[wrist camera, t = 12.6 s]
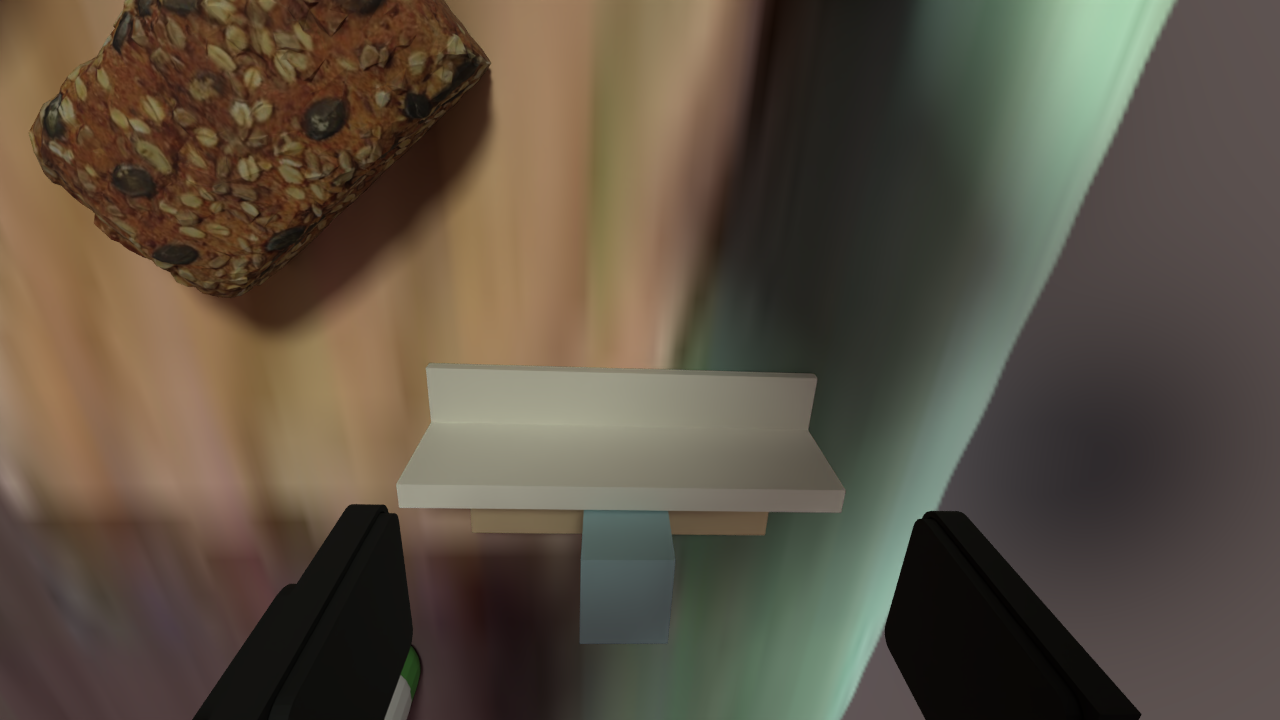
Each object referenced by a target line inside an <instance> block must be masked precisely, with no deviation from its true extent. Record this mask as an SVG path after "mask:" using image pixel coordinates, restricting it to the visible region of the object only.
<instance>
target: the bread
mask: <svg viewBox="0 0 1280 720" xmlns="http://www.w3.org/2000/svg"><path fill="white" fill-rule="evenodd" d="M114 28H115V29H114V30H113V32H112V33H111V34H110V35H109V36H108V38H107V40H106V41H105V43H104V45H103V47H102V48H101V50H100V52H99V54H98V55H97V57H95V58H93V59H92V60H90V61H87V62H85V63H83V64H81V65H79V66H78V67H77V68H76V69H75V70H74V71H73V72H72V73H71V74H70V75H69V76H68V77H67V78H66V80H65V81H64V83H63V84H62V86H61V88H60V92H59V94H58V95H56V96H55V97H54V98H53V99H51V100H49V101H48V102H46V103H44V104H43V106H42V108H41V110H40V112H39V114H38V116H37V118H36V120H35V122H34V124H33V125H32V127H31V129H30V131H29V136H30V140H31V143H32V147H33V150H34V153H35V155H36V157H37V159H38V161H39V163H40V166H41V168H42V170H43V172H44V174H45V175H46V176H47V177H48V178H49V179H50V180H51V181H52V182H53V183H55V184H58V185H61V186H62V187H63V188H64V189H66V190H67V191H68V192H69V193H70V194H71V195H72V196H73V197H74V198H75V199H76V200H78V201H79V202H80V203H81V204H83V205H84V206H86V207H87V208H89V209H91V210H92V211H93V212H94V213H95V219H94V224H95V225H96V226H97V227H98V228H99V229H101V230H102V231H103V232H104V233H105V234H106V235H107V236H108V237H109V238H110V239H111V240H114V241H117V242H120V243H121V244H122V245H123V246H124V247H126V248H127V249H128V250H130V251H132V252H134V253H136V254H138V255H140V256H142V257H145V258H148V259H150V260H152V261H153V262H154V263H155V265H156V266H158V267H160V268H162V269H164V270H167V271H169V272H171V274H172V276H173V277H174V279H175V280H176V282H178V283H180V284H183V285H185V286H188V287H196V288H197V289H198V290H199V291H201V292H202V293H203V294H208V295H213V296H217V297H228V298H232V297H236V296H241V295H243V294H244V293H246V292H248V291H249V290H250V289H251V288H253V286H255V285H261V284H262V283H263V282H265V281H266V280H267V279H268V278H269V277H271V276H272V275H273V274H274V273H275V272H277V271H278V270H280V269H281V268H282V267H284V266H285V265H286V264H287V263H288V262H289V261H290V260H291V259H292V258H293V257H294V256H296V255H297V254H298V253H299V252H300V251H302V250H303V249H304V248H305V247H306V246H307V245H308V244H309V243H310V242H311V241H312V240H313V239H314V238H315V237H316V236H318V235H319V234H320V233H321V232H322V231H323V230H324V229H325V228H326V227H327V226H328V225H329V223H330V222H331V221H332V220H333V219H334V218H335V217H336V216H338V215H339V214H340V213H342V211H343V210H344V209H345V208H347V207H348V206H349V205H350V204H351V203H353V202H354V201H355V200H356V199H357V198H358V197H359V196H360V195H361V194H362V193H363V192H364V191H366V189H367V188H368V187H369V186H370V185H371V184H372V183H373V182H375V181H376V180H377V179H378V178H379V177H380V175H381V174H382V173H383V172H384V171H385V170H386V169H387V168H389V167H390V166H391V165H392V164H393V163H394V162H395V161H396V160H398V159H399V158H400V157H401V156H402V155H403V154H405V153H406V152H407V151H408V150H409V148H410V147H411V146H412V145H413V144H414V143H415V142H417V141H418V140H419V139H420V138H421V137H422V136H423V135H424V134H425V133H426V132H427V131H428V129H429V128H430V127H431V126H432V125H433V124H435V123H436V122H437V121H438V120H439V119H440V118H441V117H442V116H443V115H444V114H445V113H446V112H447V111H448V110H449V109H450V108H452V107H453V106H454V105H455V104H456V103H457V102H458V101H459V100H460V98H461V97H462V95H463V94H464V93H465V92H466V91H467V90H469V89H470V88H471V87H473V86H474V85H475V84H476V83H477V82H478V81H479V80H480V77H481V76H482V75H483V74H484V73H485V72H486V71H487V69H488V67H489V66H490V64H491V62H490V60H489V59H488V57H487V56H486V54H485V53H484V51H483V50H482V49H481V47H480V46H479V45H478V44H477V43H476V42H475V40H474V39H473V38H472V37H471V36H470V35H469V33H468V32H467V30H466V29H465V27H464V26H463V24H462V23H461V22H460V21H459V20H458V18H457V17H456V16H455V15H454V14H453V13H452V12H451V10H450V9H449V7H448V5H447V4H446V3H445V1H444V0H125V2H124V9H123V11H122V12H121V14H120V15H119V17H118V19H117V21H116V22H115V24H114Z"/></svg>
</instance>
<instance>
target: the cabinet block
mask: <svg viewBox="0 0 1280 720" xmlns="http://www.w3.org/2000/svg"><path fill="white" fill-rule="evenodd" d="M675 561H676V560H675V553H674V547H673V540H672V533H671V527H670V520H669V514H668V511H649V510H584V515H583V532H582V549H581V583H580V644H666V643H668V636H669V625H670V614H671V604H672V593H673V582H674V571H675Z"/></svg>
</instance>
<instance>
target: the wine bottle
mask: <svg viewBox="0 0 1280 720" xmlns="http://www.w3.org/2000/svg"><path fill="white" fill-rule="evenodd" d="M419 676H420V662H419V657H418V656H417V654H416V652H415V650H414V648H413V647H412V646H411V647H410V650H409V653H408V656H407V659H406V661H405V664H404V667H403V670H402V672H401V675H400V678H399V681H398V683H397V686H396V689H395V691H394V694H393V697H392V700H391V702H390V705H389V708H388V711H387V713H386V716H385V719H384V720H407V717H408V714H409V711H410V707H411V703H412V700H413V697H414V694H415V691H416V688H417V685H418V681H419Z"/></svg>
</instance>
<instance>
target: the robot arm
mask: <svg viewBox="0 0 1280 720" xmlns="http://www.w3.org/2000/svg"><path fill="white" fill-rule="evenodd" d="M412 635H413V626H412V618H411V611H410V603H409V595H408V587H407V580H406V572H405V564H404V556H403V549H402V541H401V533H400V525H399V519H398V516H397V514H395V513H388V509H387V507H386V506H385V505H363V504H352V505H349V506H348V507H347V508H346V509H345V511H344V512H343V514H342V515H341V517H340V518H339V520H338V522H337V523H336V525H335V526H334V528H333V529H332V531H331V532H330V534H329V535H328V537H327V538H326V540H325V541H324V543H323V544H322V546H321V548H320V549H319V551H318V552H317V554H316V555H315V557H314V558H313V560H312V561H311V563H310V564H309V566H308V567H307V569H306V570H305V572H304V573H303V575H302V577H301V578H300V580H299V581H298V583H297V584H289V585H287V586H285V587H284V588H283V589H282V590H281V591H280V592H279V593H278V595H277V596H276V597H275V599H274V600H273V602H272V603H271V605H270V606H269V608H268V609H267V611H266V612H265V613H264V615H263V616H262V618H261V619H260V621H259V622H258V624H257V625H256V627H255V628H254V630H253V631H252V633H251V634H250V636H249V637H248V638H247V640H246V641H245V643H244V644H243V646H242V647H241V649H240V650H239V652H238V653H237V655H236V656H235V658H234V659H233V661H232V662H231V663H230V665H229V666H228V668H227V669H226V671H225V672H224V674H223V675H222V677H221V678H220V680H219V681H218V683H217V684H216V686H215V687H214V688H213V690H212V691H211V693H210V694H209V696H208V697H207V699H206V700H205V702H204V703H203V705H202V706H201V708H200V709H199V711H198V712H197V713H196V715H195V716H194V718H193V719H192V720H384V719H385V716H386V713H387V711H388V708H389V705H390V702H391V700H392V697H393V694H394V691H395V689H396V686H397V683H398V681H399V678H400V675H401V672H402V670H403V667H404V664H405V661H406V659H407V656H408V653H409V650H410V647H411V642H412ZM885 638H886V643H887V646H888V648H889V650H890V652H891V654H892V656H893V658H894V660H895V662H896V664H897V666H898V668H899V669H900V671H901V673H902V675H903V677H904V679H905V681H906V683H907V685H908V687H909V689H910V691H911V692H912V694H913V696H914V698H915V700H916V702H917V704H918V706H919V708H920V710H921V712H922V714H923V715H924V717H925V719H926V720H1139V718H1140V716H1141V713H1140V712H1139V711H1138V710H1137V709H1136V707H1134V705H1133V704H1132V703H1131V702H1130V701H1129V700H1128V699H1127V697H1126V696H1125V695H1124V694H1123V693H1122V692H1121V690H1120V689H1119V688H1118V687H1117V686H1116V685H1115V684H1114V682H1113V681H1112V680H1111V679H1110V678H1109V677H1108V676H1107V675H1106V674H1105V672H1104V671H1103V670H1102V669H1101V668H1100V667H1099V666H1098V664H1097V663H1096V662H1095V661H1094V660H1093V659H1092V658H1091V657H1090V656H1089V654H1088V653H1087V652H1086V651H1085V650H1084V648H1083V647H1082V646H1081V645H1080V644H1079V643H1078V642H1077V641H1076V639H1075V638H1074V637H1073V636H1072V635H1071V634H1070V633H1069V632H1068V630H1067V629H1066V628H1065V627H1064V626H1063V625H1062V624H1061V622H1060V621H1059V620H1058V619H1057V618H1056V617H1055V616H1054V615H1053V613H1052V612H1051V611H1050V610H1049V609H1048V608H1047V607H1046V606H1045V604H1044V603H1043V602H1042V601H1041V600H1040V599H1039V598H1038V596H1037V595H1036V594H1035V593H1034V592H1033V591H1032V590H1031V588H1030V587H1029V586H1028V585H1027V584H1026V583H1025V582H1024V581H1023V579H1022V578H1021V577H1020V576H1019V575H1018V574H1017V573H1016V572H1015V571H1014V569H1013V568H1012V567H1011V566H1010V565H1009V564H1008V563H1007V561H1006V560H1005V559H1004V558H1003V557H1002V556H1001V555H1000V553H999V552H998V551H997V550H996V549H995V548H994V547H993V545H992V544H991V543H990V542H989V541H988V540H987V539H986V538H985V536H984V535H983V534H982V533H981V532H980V531H979V530H978V528H977V527H976V526H975V525H974V524H973V523H972V522H971V521H970V519H969V518H968V517H967V516H966V515H965V514H963V513H962V512H959V511H929V512H926V513H925V514H924V516H923V518H922V519H918V520H917V521H916V522H915V524H914V526H913V530H912V533H911V537H910V540H909V544H908V548H907V551H906V555H905V558H904V562H903V565H902V569H901V572H900V576H899V579H898V583H897V586H896V590H895V593H894V597H893V600H892V604H891V607H890V611H889V614H888V618H887V622H886V625H885Z"/></svg>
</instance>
